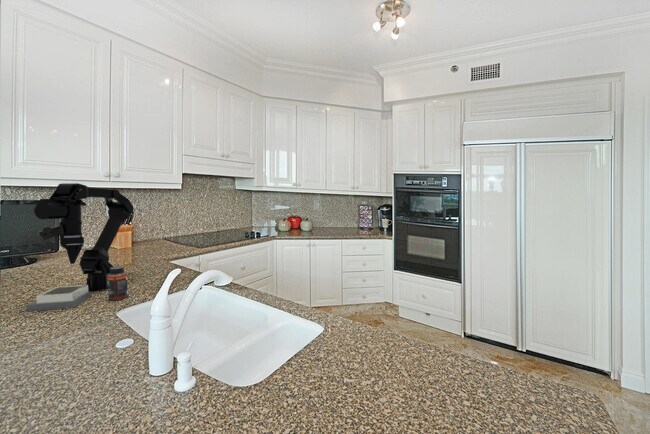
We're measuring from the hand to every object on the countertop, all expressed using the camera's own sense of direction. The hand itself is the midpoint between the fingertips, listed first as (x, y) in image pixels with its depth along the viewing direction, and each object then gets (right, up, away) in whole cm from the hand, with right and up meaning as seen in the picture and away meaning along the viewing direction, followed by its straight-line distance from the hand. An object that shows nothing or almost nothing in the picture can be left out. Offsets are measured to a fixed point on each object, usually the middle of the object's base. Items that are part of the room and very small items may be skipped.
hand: (71, 261), depth 108 cm
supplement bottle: (+16, -14, +2) cm, 21 cm away
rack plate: (0, -14, -4) cm, 14 cm away
